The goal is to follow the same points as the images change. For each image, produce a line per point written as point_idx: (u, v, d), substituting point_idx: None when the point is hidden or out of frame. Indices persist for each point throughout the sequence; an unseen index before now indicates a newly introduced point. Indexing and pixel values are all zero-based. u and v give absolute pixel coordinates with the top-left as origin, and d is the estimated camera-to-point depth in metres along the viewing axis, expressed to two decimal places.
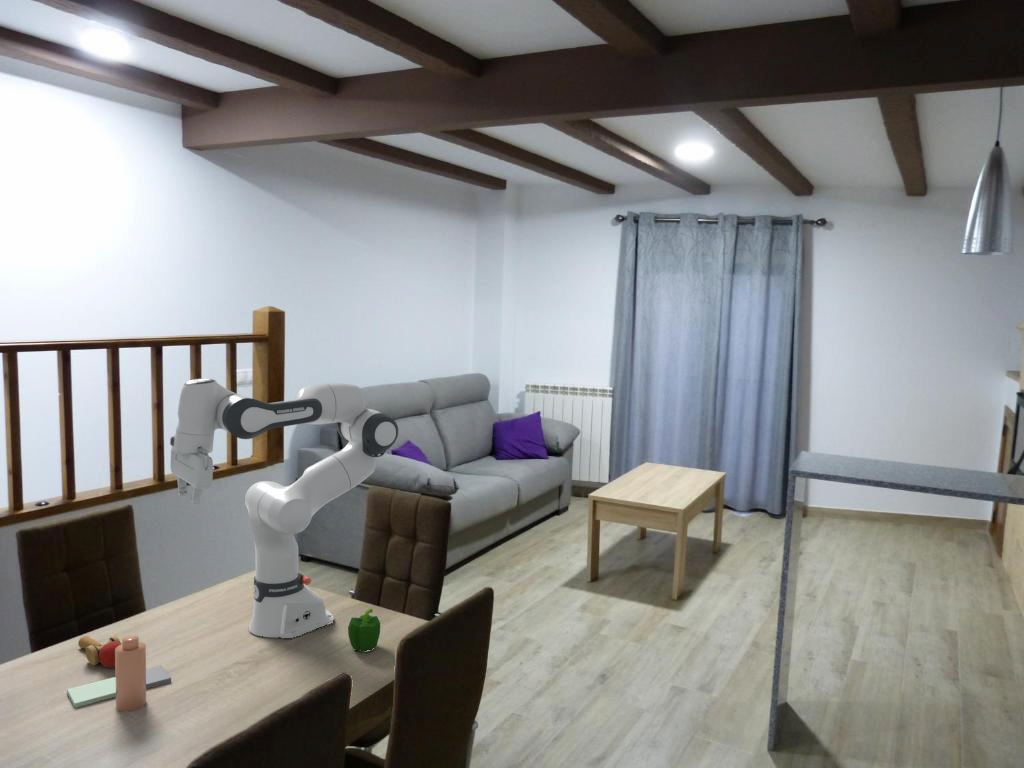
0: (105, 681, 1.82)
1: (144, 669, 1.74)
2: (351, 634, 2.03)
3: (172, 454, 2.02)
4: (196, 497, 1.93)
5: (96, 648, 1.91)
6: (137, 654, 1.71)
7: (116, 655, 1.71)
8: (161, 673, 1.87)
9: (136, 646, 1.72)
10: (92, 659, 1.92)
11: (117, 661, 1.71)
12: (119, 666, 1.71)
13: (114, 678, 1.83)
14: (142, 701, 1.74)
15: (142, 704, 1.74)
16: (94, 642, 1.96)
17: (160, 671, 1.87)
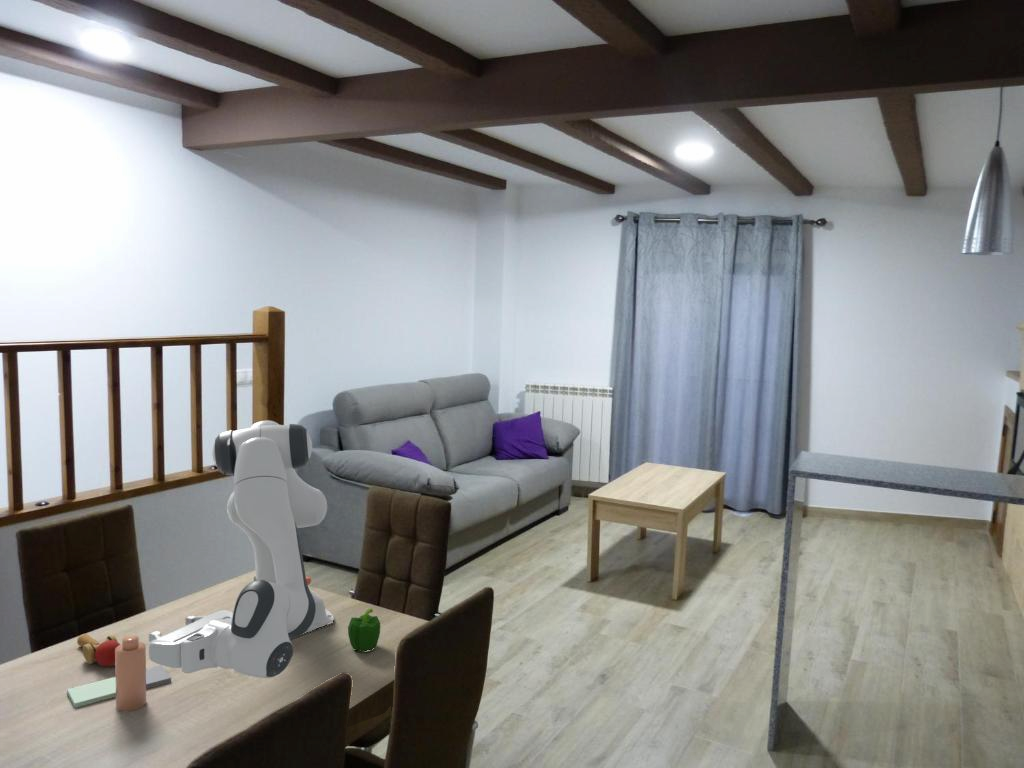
0: (105, 681, 1.82)
1: (144, 669, 1.74)
2: (351, 634, 2.03)
3: None
4: None
5: (93, 647, 1.92)
6: (137, 654, 1.71)
7: (116, 655, 1.71)
8: (161, 673, 1.87)
9: (136, 646, 1.72)
10: (89, 657, 1.93)
11: (117, 661, 1.71)
12: (119, 666, 1.71)
13: (114, 678, 1.83)
14: (142, 701, 1.74)
15: (142, 704, 1.74)
16: (92, 640, 1.97)
17: (160, 671, 1.87)
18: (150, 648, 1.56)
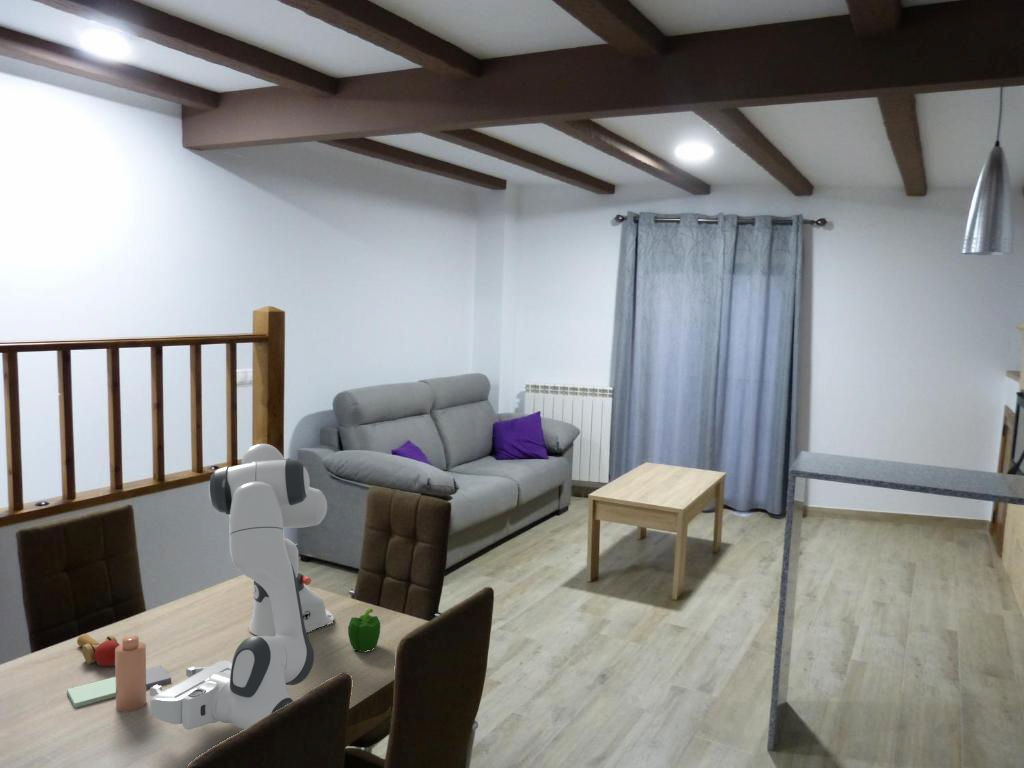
0: (105, 681, 1.82)
1: (144, 669, 1.74)
2: (351, 634, 2.03)
3: None
4: None
5: (92, 647, 1.92)
6: (137, 654, 1.71)
7: (116, 655, 1.71)
8: (161, 673, 1.87)
9: (136, 646, 1.72)
10: (89, 658, 1.93)
11: (117, 661, 1.71)
12: (119, 666, 1.71)
13: (114, 678, 1.83)
14: (142, 701, 1.74)
15: (142, 704, 1.74)
16: (92, 641, 1.97)
17: (160, 671, 1.87)
18: (151, 704, 1.57)
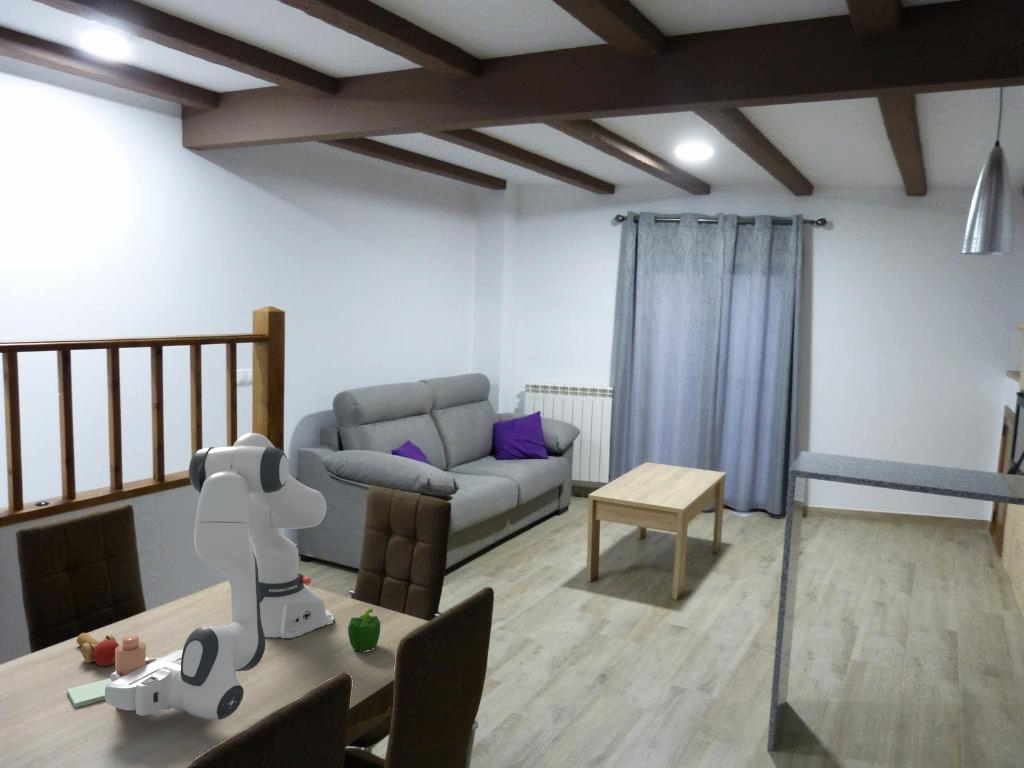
0: (105, 681, 1.82)
1: None
2: (351, 634, 2.03)
3: None
4: None
5: (91, 646, 1.92)
6: (137, 654, 1.71)
7: (116, 655, 1.71)
8: None
9: (136, 646, 1.72)
10: (87, 657, 1.93)
11: (117, 661, 1.71)
12: (119, 666, 1.71)
13: None
14: None
15: None
16: (91, 640, 1.97)
17: None
18: (106, 691, 1.62)
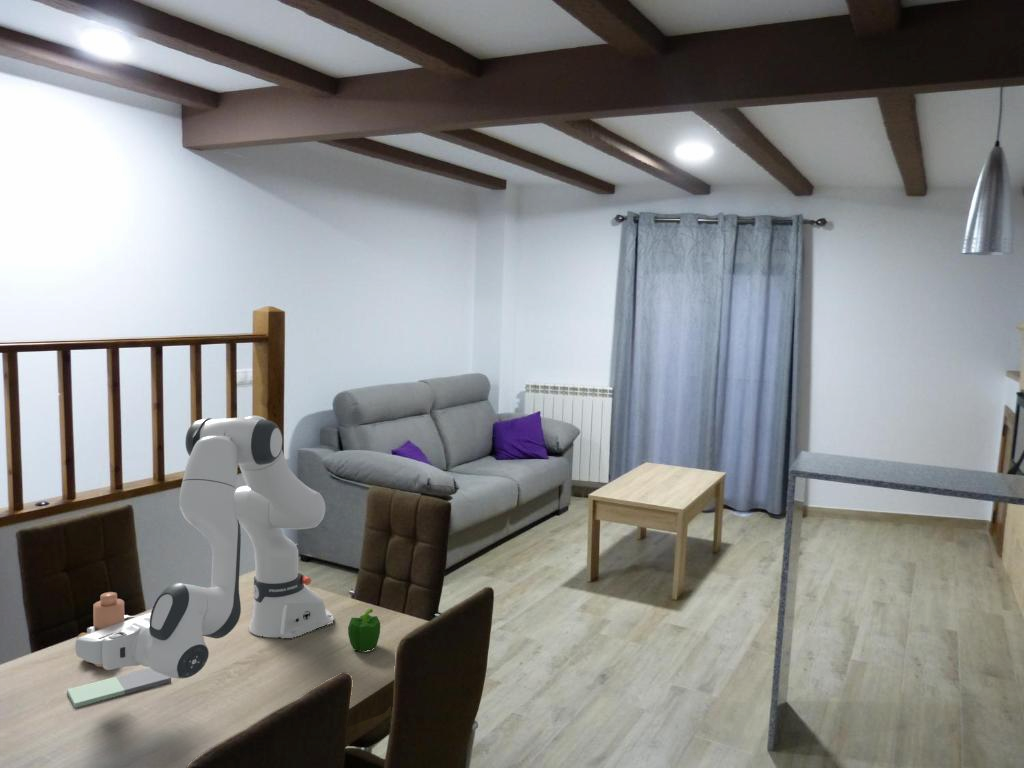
0: (105, 681, 1.82)
1: None
2: (351, 634, 2.03)
3: None
4: None
5: None
6: (113, 610, 1.72)
7: (94, 610, 1.72)
8: None
9: (114, 602, 1.73)
10: None
11: (94, 616, 1.72)
12: (96, 621, 1.71)
13: (114, 678, 1.83)
14: None
15: None
16: None
17: None
18: (76, 644, 1.63)
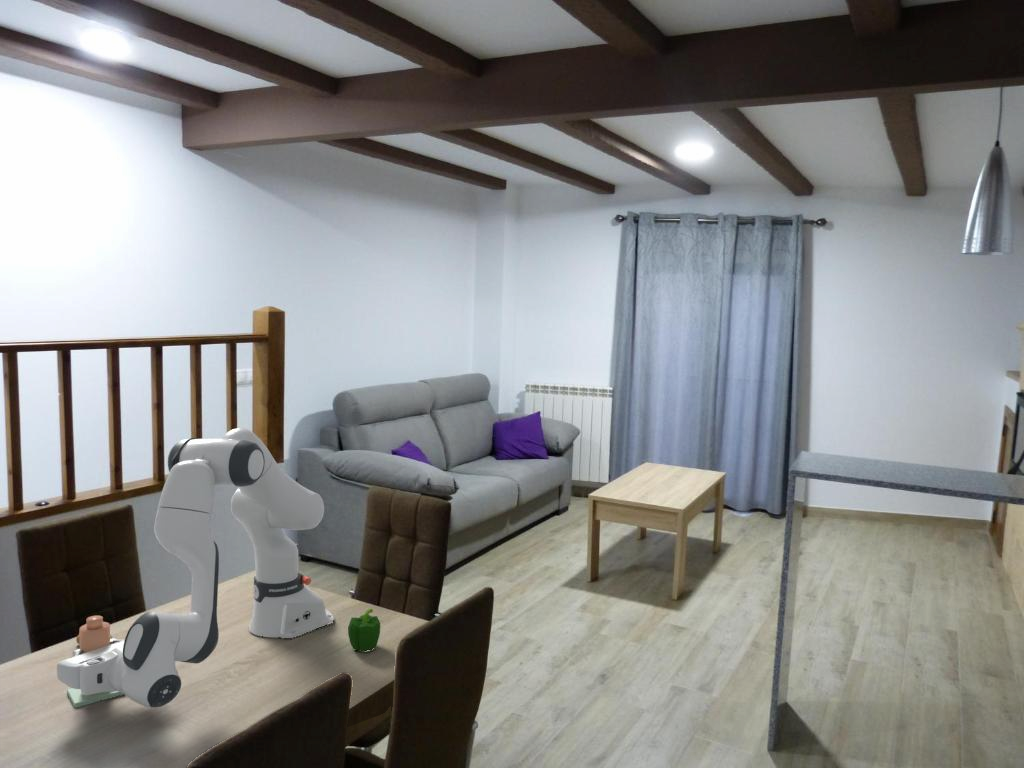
0: None
1: None
2: (351, 634, 2.03)
3: None
4: None
5: None
6: (98, 634, 1.74)
7: (79, 633, 1.75)
8: None
9: (99, 626, 1.75)
10: None
11: (80, 639, 1.74)
12: (81, 644, 1.74)
13: None
14: None
15: None
16: None
17: None
18: (57, 668, 1.66)
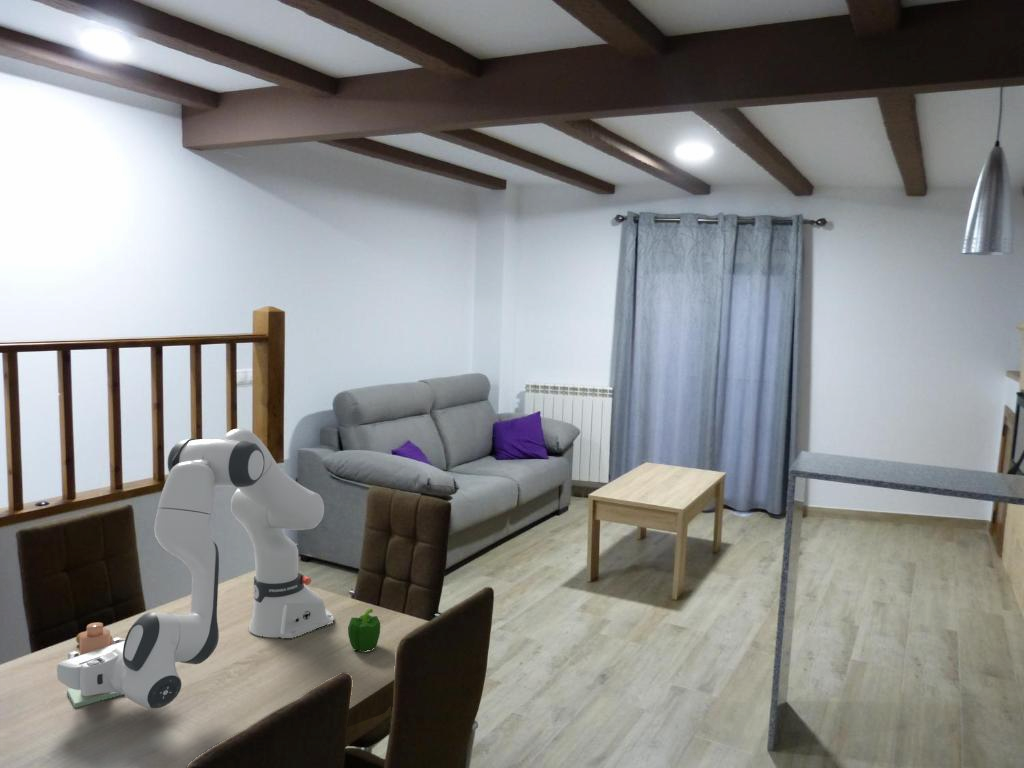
0: None
1: None
2: (351, 634, 2.03)
3: None
4: None
5: None
6: (98, 641, 1.74)
7: (80, 640, 1.75)
8: None
9: (99, 633, 1.76)
10: None
11: (80, 646, 1.75)
12: (81, 651, 1.74)
13: None
14: None
15: None
16: None
17: None
18: (57, 669, 1.66)
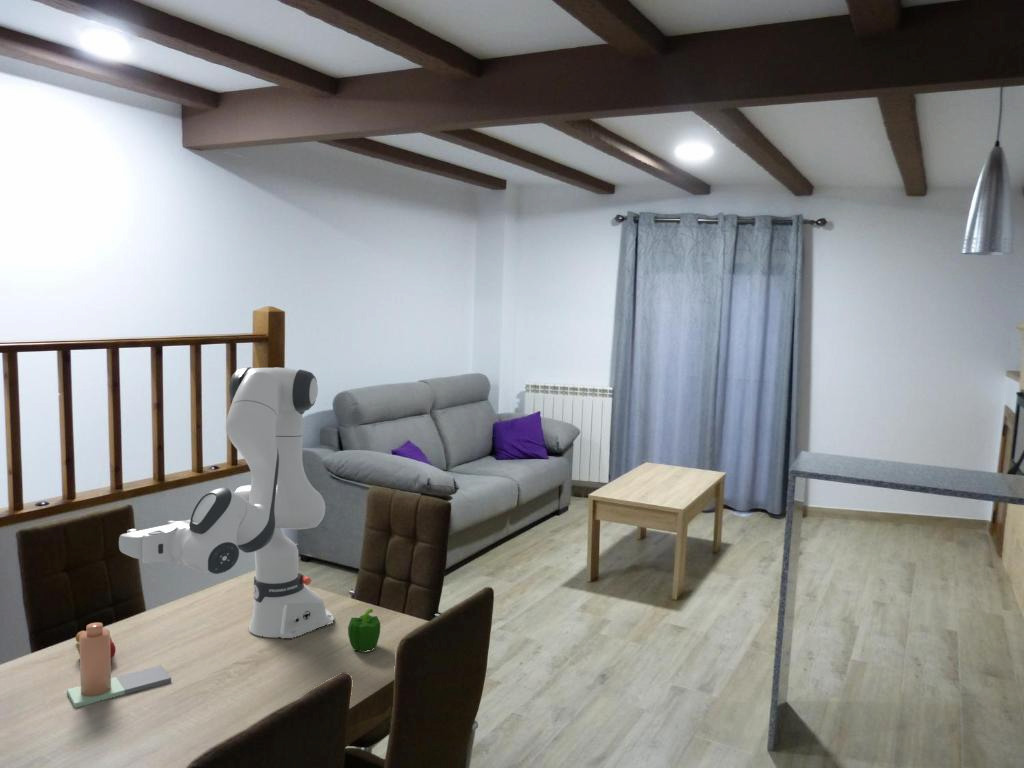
0: None
1: (107, 656, 1.76)
2: (351, 634, 2.03)
3: None
4: None
5: None
6: (98, 641, 1.74)
7: (79, 640, 1.75)
8: (161, 673, 1.87)
9: (99, 633, 1.76)
10: None
11: (80, 646, 1.74)
12: (81, 651, 1.74)
13: (114, 678, 1.83)
14: (104, 687, 1.77)
15: (104, 690, 1.77)
16: None
17: (160, 671, 1.87)
18: (119, 540, 1.74)
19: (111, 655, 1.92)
